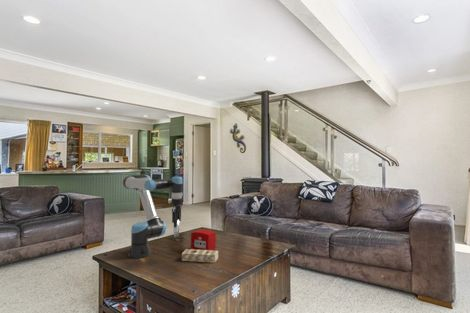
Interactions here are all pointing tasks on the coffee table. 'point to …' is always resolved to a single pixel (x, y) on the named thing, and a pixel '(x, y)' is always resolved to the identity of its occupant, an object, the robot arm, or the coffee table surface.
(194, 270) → the coffee table surface
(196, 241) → the fire alarm
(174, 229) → the robot arm
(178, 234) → the pin
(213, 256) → the bore block
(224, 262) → the coffee table surface
